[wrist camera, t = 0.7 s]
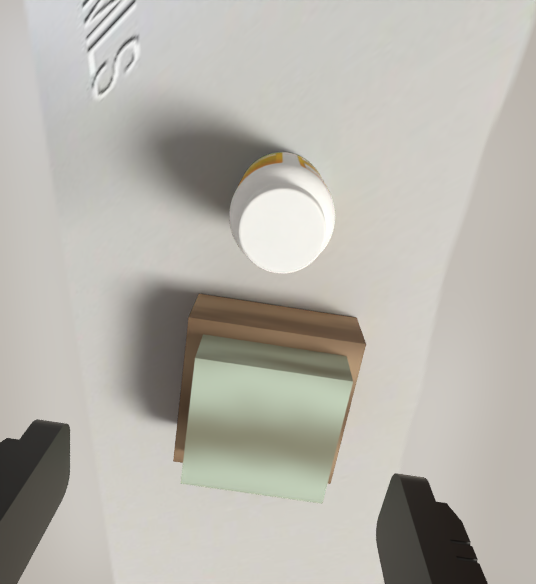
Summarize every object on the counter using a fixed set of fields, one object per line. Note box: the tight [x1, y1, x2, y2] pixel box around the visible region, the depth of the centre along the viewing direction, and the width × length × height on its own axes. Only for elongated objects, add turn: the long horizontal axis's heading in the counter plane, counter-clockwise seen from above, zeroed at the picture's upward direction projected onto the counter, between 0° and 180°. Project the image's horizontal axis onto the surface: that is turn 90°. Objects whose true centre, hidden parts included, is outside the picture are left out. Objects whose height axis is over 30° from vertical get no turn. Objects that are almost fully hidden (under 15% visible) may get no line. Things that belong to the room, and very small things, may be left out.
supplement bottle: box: [229, 152, 335, 273], centre depth 26 cm, size 5×5×10 cm
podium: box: [173, 294, 366, 504], centre depth 32 cm, size 11×11×7 cm
